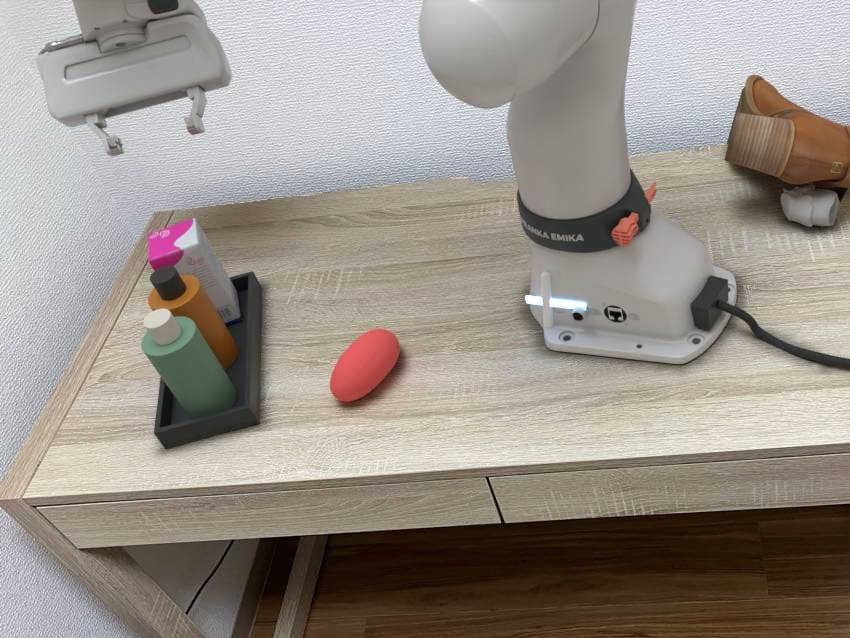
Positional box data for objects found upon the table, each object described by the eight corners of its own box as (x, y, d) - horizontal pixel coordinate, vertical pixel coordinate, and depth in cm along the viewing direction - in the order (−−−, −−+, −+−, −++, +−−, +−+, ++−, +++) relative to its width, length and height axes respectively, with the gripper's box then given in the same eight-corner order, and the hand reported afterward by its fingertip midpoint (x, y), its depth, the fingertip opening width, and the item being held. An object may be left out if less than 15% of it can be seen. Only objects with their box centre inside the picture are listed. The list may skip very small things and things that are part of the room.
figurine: (847, 220, 101) (817, 240, 99) (791, 196, 106) (761, 215, 104) (849, 190, 98) (818, 210, 96) (791, 167, 103) (761, 186, 101)
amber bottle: (248, 347, 103) (200, 262, 94) (215, 381, 100) (162, 297, 91) (214, 335, 105) (163, 252, 96) (180, 368, 103) (125, 286, 93)
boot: (729, 130, 119) (873, 164, 116) (713, 197, 99) (887, 239, 97) (748, 60, 113) (900, 94, 111) (736, 115, 94) (920, 158, 92)
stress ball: (424, 378, 97) (408, 321, 95) (353, 408, 91) (336, 348, 90) (397, 377, 101) (381, 322, 99) (328, 405, 95) (310, 347, 94)
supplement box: (238, 291, 110) (196, 215, 102) (243, 321, 106) (199, 244, 98) (192, 308, 110) (145, 232, 101) (195, 338, 106) (147, 262, 97)
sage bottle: (247, 390, 98) (196, 305, 89) (212, 427, 95) (155, 344, 86) (211, 377, 101) (157, 293, 92) (176, 413, 98) (117, 330, 89)
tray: (180, 308, 111) (170, 292, 109) (261, 286, 111) (253, 270, 109) (165, 449, 95) (153, 433, 93) (259, 423, 95) (249, 407, 93)
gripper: (17, 36, 99) (52, 160, 100) (199, -12, 99) (233, 112, 100) (47, 57, 105) (80, 173, 106) (218, 11, 106) (250, 128, 106)
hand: (156, 143), depth 103 cm, fingers open, 8 cm apart
